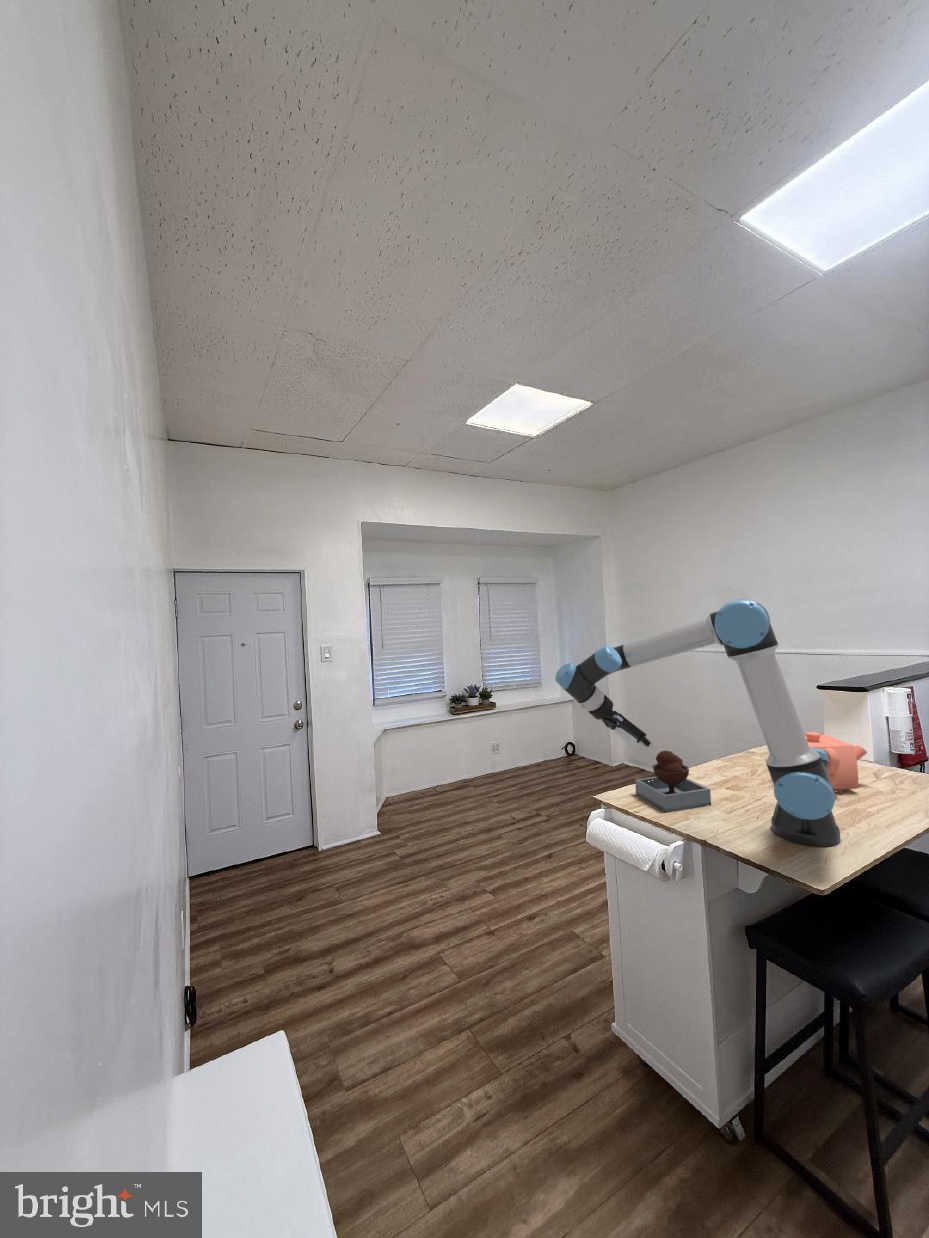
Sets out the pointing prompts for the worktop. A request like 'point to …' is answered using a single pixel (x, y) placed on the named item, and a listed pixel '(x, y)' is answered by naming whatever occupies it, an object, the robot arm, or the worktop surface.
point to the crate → (685, 797)
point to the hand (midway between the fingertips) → (641, 745)
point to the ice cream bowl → (670, 770)
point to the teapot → (838, 760)
